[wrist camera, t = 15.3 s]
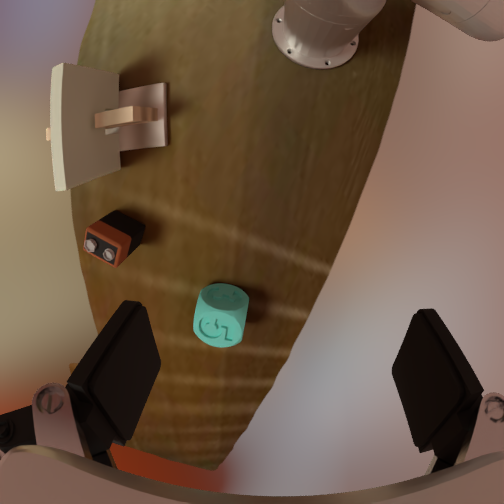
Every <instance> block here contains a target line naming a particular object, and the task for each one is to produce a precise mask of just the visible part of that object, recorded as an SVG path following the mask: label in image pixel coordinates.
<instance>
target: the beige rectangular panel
mask: <svg viewBox="0 0 504 504" xmlns="http://www.w3.org/2000/svg"><path fill="white" fill-rule="evenodd" d="M118 106H119V74H116V73H112V72H107V71H103V70H99V69H94V68H89V67H84V66H79V65H73V64H67V63H62V64H60V65H57V66H55V67H53V68H52V78H51V99H50V124H51V125H50V128H51V150H52V162H53V173H54V182H55V189H56V191H64V190H68V189H71V188H73V187H75V186H78V185H80V184H83V183H85V182H88V181H90V180H93V179H96V178H98V177H101V176H104V175H106V174H109V173H112V172H115V171H118V170H121V166H120V149H119V133H115V134H107V135H105V128H95V114H97V113H101V112H105V111H110V110H114V109H118Z"/></svg>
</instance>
